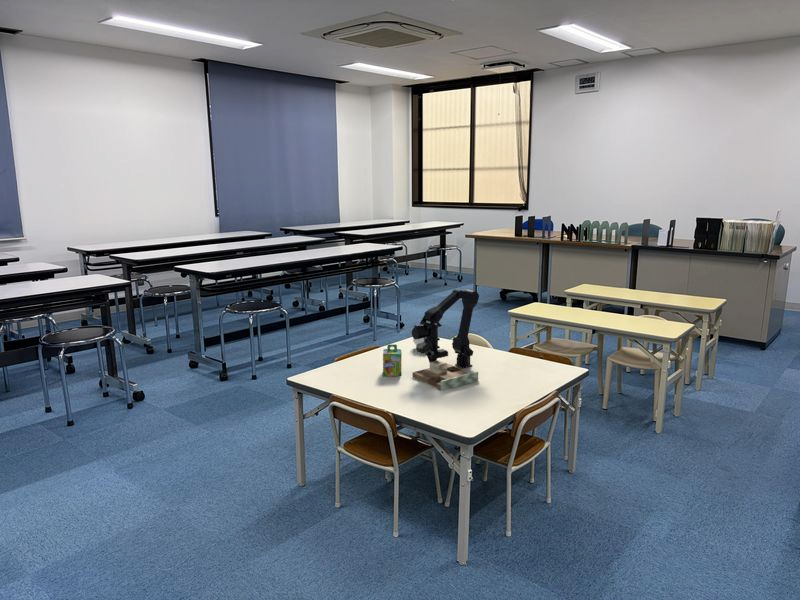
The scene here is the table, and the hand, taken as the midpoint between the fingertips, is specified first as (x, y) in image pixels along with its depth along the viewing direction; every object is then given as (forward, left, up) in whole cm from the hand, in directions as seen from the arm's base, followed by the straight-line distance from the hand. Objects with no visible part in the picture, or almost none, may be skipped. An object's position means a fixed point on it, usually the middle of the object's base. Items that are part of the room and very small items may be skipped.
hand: (432, 366), depth 283 cm
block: (0, +5, -1) cm, 5 cm away
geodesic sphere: (-23, -36, -4) cm, 43 cm away
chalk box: (+16, -11, -4) cm, 20 cm away
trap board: (0, +10, -4) cm, 10 cm away
